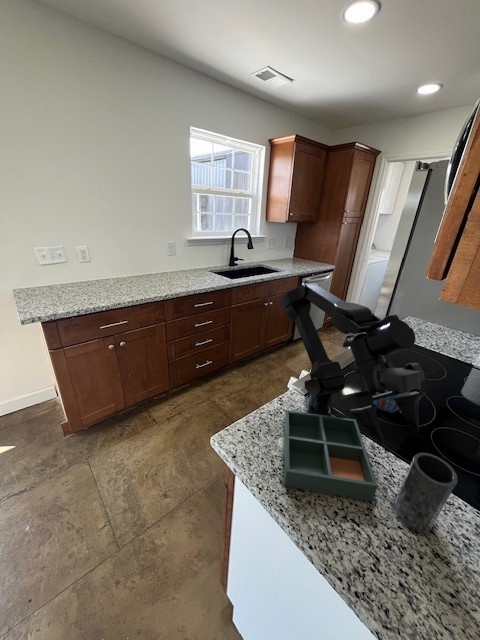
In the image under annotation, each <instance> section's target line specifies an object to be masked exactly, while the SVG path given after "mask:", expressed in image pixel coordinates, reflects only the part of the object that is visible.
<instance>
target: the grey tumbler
mask: <svg viewBox="0 0 480 640" xmlns="http://www.w3.org/2000/svg"><path fill="white" fill-rule="evenodd" d="M458 482H459V480H458V474H457V473H456V471H455V470H454V467H452V466H451V465H450V464H449V463H448V462H447V461H446V460H444V459H443V458H440V457H439V456H437V455H434V454H432V453H429V452H417V453H416V454H415V455H414V456H413V458H412V460H411V462H410V464H409V466H408V469H407V472H406V474H405V477H404V479H403V481H402V484H401V485H400V488H399V491H398V493H397V495H396V498H395V501H394V504H393V506H394V511H395V514H396V516H397V517H398V519H399V520H400V521H401V523H403V524H404V525H405V526H406V527H407V528H409V529H411V530H412V531H415V532H418V533H422V534H423V533H424V534H425V533H428V532H430V531H431V530H432V528H433V527H434V525H435V524H436V521H437V520H438V518H439V516H440V515H441V513H442V511H443V509H444V507H445V505H446V504H447V502H448V500H449V498H450V496H451V494H452V492H453V490H454V489H455V487H456V485H457V483H458Z"/></svg>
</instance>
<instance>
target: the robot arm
mask: <svg viewBox="0 0 480 640" xmlns="http://www.w3.org/2000/svg"><path fill="white" fill-rule="evenodd" d="M312 304H313V305H314V306H315V307H317V308H318V309H320V310H321V311H322V312H323V313H325V314H327V315H328V316H329V317H330V320H331V324H332V325H333V326H334V327H335V328H336V329H337V330H338V331H339V332H340V333H341V334H343V335H346V336H345V339H344V340H343V343H342V347H343V348H350V350H351V351H350V352H351V353H352V356H353V359H354V362H355V364H356V367H357V369H354V373H355V375H359V376H360V378H361V381H362V383H363V386H364V387H363V388H361V391H356V392H352V393H347V394H344V395H340V396H339V398H338V402H337V403H338V406H339V409H340V411H346V413H347V414H348V415H352V416H353V417H354V418H355V420H356V421H357V422H359V423H360V424H361V425H362V426H363V427H364V428H365V429H366V430H367V432H368V433H369V434H370V435H371V437H372V438H374V439H375V440H376V442H377V443H378V444H379V445H384V444H385V439H384V435H383V432H382V429H381V426H380V423H379V421H378V418H377V410H378V408H377V406H375V405H374V404H373V402H374V401H375V400H378V399H382V398H386V397H389V396H393V395H397V396H398V397H396V398H394V400H395V402H396V404H397V405H398V407H399V411H400V410H401V412H402V413H401V414H402V415H403V417H404V419H405V421H406V422H407V424H408V426H409V427H410V429H411V430H412V431H413V432H414V433H419V432H420V419H419V417H420V415H419V403H420V401H421V400H422V398H423V396H425V395H426V392H425V391H428V390H429V387H428V384H427V383H426V380H425V378H426V375H425V373H424V370H423V369H422V367H421V365H420V363H418V362H417V363H416V362H410V363H406V364H405V365H404V367H395V366H394V362H391V360H386V358H385V357H386V356H390V355H392V354H396V353H398V352H401V351H404V350H408V349H410V348H413V346H414V345H415V343H416V333H415V332H414V329H413V327H411V326H410V325H409V324H408V323H407V322H405V321H403V320H401V319H400V318H399V316H398V314H390V315H387V316H385V317H384V318H382V319H381V318H380V317H378V316H377V315H375V314H374V313H373V312H372V310H371V309H370V308H369V307H367V306H365V305H362V304H360V303H354V302H348V301H346V300H343V299H341V298H339V297H338V296H336V295H335V294H333V293H331V292H330V291H328V290H326V289H325V288H323V287H321V286H320V284H318V283H317V282H306V283H302V284H300V285H298V286H297V287H296V288H294V289H292V290H289V291H287V292H284V294H283V295H282V297H281V299H280V306H281V307H282V309H283V311H284V312H285V315H286V316H287V317H289V318H290V319H291V320H293V321H294V324H295V326H296V328H297V331H298V333H299V336H300V339H301V341H302V344H303V347H304V348H305V351H306V354H307V356H308V359H309V361H310V364H311V367H310V372H309V377H310V379H308V380H305V381H304V382H303V383H304V389H305V390H306V391H307V392H308V394H309V396H306V408H307V413H311V414H318V415H325V416H332V410H331V405H330V404H331V400H332V396H333V394H335V393H340V391H343V390H344V389H345V385H346V378H345V375H346V374H345V372H344V371H343V369H342V367H341V364H340V362H339V361H338V360H335V361H333V360H331V359H330V358H329V356H328V353H327V351H326V349H325V346H324V345H323V342H322V340H321V337H320V334H319V333H318V330H317V327H316V326H315V324H314V321H313V318H312V316H311V309H312ZM350 334H351V335H350ZM386 389H388V391H385V390H386ZM377 392H379V393H377ZM376 393H377V394H376ZM373 405H374V406H373Z"/></svg>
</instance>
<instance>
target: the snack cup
mask: <svg viewBox="0 0 480 640" xmlns="http://www.w3.org/2000/svg"><path fill="white" fill-rule="evenodd" d="M385 391H388V389H386V390H385ZM377 393H379V392H377ZM377 393H376V394H377ZM396 397H398V396H397V395H393V396H389V397H386V398H382V399H378V400H375V401H374V402H373V405H374V406H377V410H381V411H382V412H387V413H391V414H394V413H396V412H397V411H399V413H400V414H402V412H401V410H400V409H399V407H398V405H397V404H396V402H395V400H394V398H396Z"/></svg>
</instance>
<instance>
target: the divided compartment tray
mask: <svg viewBox="0 0 480 640" xmlns="http://www.w3.org/2000/svg"><path fill="white" fill-rule="evenodd" d="M283 433H284V445H283V446H284V448H283V450H284V451H283V458H284V459H283V486H284V487H287V488H294V489H299V490H304V491H305V490H306V491H310V492H311V491H312V492H317V493H323V494H327V495H334V496H340V497H345V498H350V499H357V500H361V501H363V500H364V501H368V502H373V500H374V497H375V495H376V492H377V489H378V483H377V480H376V476H375V473H374V470H373V467H372V464H371V462H370V459H369V455H368V452H367V449H366V445H365V443H364V440H363V436H362V434H361V431H360V428H359V424H358V420H357V419H356V418H355V419H353V418H347V417H340V416H332V415H331V416H326V415H318V414H311V413H308V412H302V411H296V410H289V409H288V410H287V409H286V410H285V417H284V432H283Z"/></svg>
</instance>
